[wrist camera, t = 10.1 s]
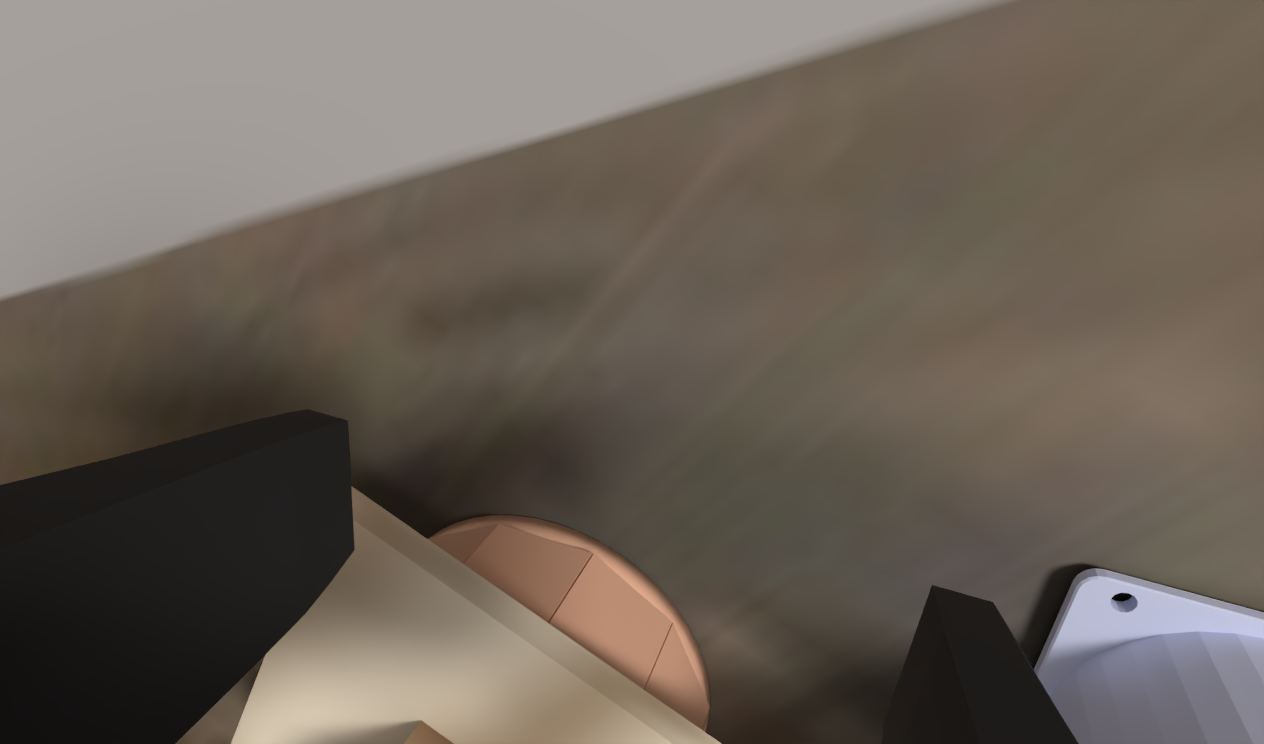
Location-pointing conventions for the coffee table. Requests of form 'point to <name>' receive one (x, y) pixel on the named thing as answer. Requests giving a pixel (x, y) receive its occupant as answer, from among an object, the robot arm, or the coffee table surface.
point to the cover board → (438, 662)
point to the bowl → (589, 602)
